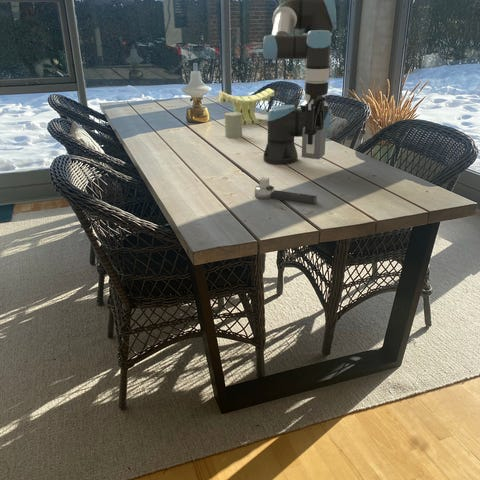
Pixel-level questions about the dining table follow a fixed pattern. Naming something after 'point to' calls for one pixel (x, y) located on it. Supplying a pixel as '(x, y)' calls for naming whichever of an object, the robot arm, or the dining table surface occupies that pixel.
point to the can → (233, 124)
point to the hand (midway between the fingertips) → (313, 150)
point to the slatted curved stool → (246, 104)
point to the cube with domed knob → (319, 143)
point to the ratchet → (281, 193)
